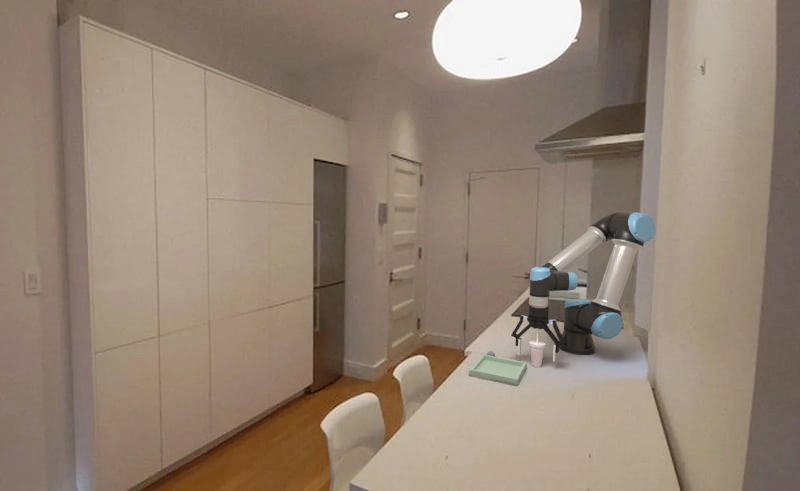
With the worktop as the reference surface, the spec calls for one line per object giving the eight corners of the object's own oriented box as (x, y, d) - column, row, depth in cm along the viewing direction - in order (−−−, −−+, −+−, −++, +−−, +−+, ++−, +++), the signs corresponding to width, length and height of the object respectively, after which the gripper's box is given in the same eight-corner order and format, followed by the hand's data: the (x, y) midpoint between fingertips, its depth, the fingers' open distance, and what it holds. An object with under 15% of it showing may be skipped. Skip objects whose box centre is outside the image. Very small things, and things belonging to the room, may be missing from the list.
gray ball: (496, 359, 164) (496, 351, 164) (493, 362, 161) (494, 353, 161) (487, 357, 166) (488, 349, 166) (485, 360, 163) (485, 352, 162)
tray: (526, 368, 155) (526, 362, 154) (517, 386, 139) (517, 379, 139) (482, 360, 163) (482, 354, 163) (469, 375, 147) (469, 369, 147)
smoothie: (526, 366, 156) (528, 333, 155) (529, 361, 162) (530, 328, 161) (543, 370, 153) (545, 335, 152) (545, 364, 159) (547, 331, 158)
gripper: (573, 307, 153) (570, 359, 155) (509, 300, 165) (507, 348, 166) (571, 312, 146) (568, 366, 148) (505, 303, 158) (503, 354, 160)
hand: (536, 357), depth 157 cm, fingers open, 13 cm apart
